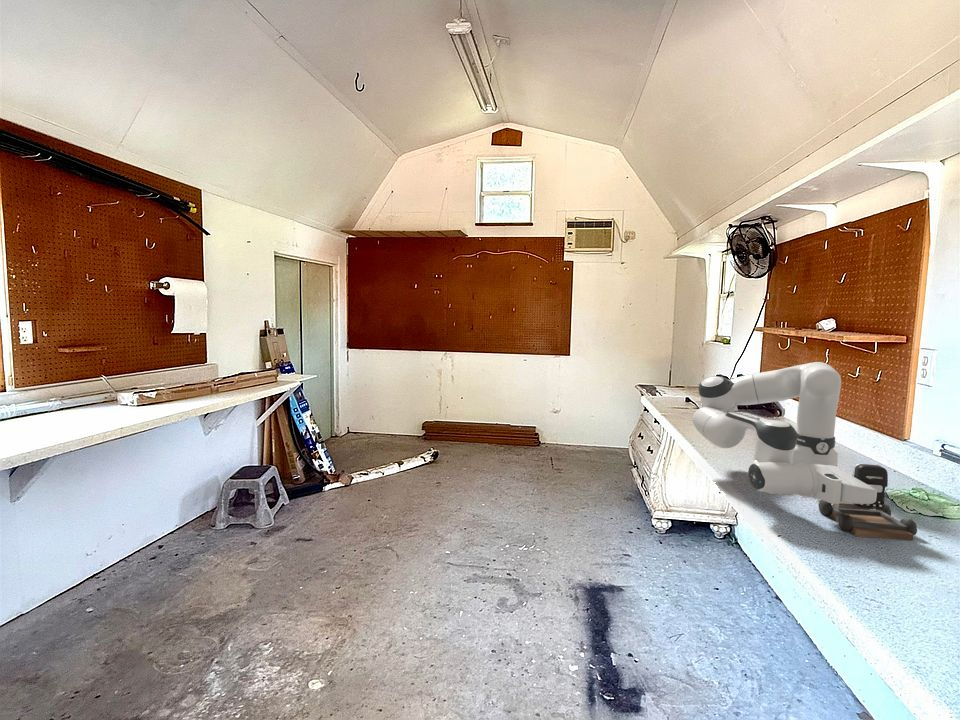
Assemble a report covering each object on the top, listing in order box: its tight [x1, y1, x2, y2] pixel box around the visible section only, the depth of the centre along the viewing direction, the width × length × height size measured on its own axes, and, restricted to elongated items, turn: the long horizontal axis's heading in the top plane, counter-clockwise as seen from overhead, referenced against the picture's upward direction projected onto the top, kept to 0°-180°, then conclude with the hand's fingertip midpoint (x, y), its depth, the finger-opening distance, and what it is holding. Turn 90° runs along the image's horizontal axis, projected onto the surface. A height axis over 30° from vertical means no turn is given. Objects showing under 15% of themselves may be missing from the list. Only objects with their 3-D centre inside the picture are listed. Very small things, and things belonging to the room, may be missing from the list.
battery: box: [852, 463, 889, 510], centre depth 132 cm, size 7×4×11 cm, turn 74°
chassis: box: [818, 499, 918, 541], centre depth 134 cm, size 17×16×4 cm
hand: (874, 484), depth 132 cm, fingers closed on battery, 4 cm apart
